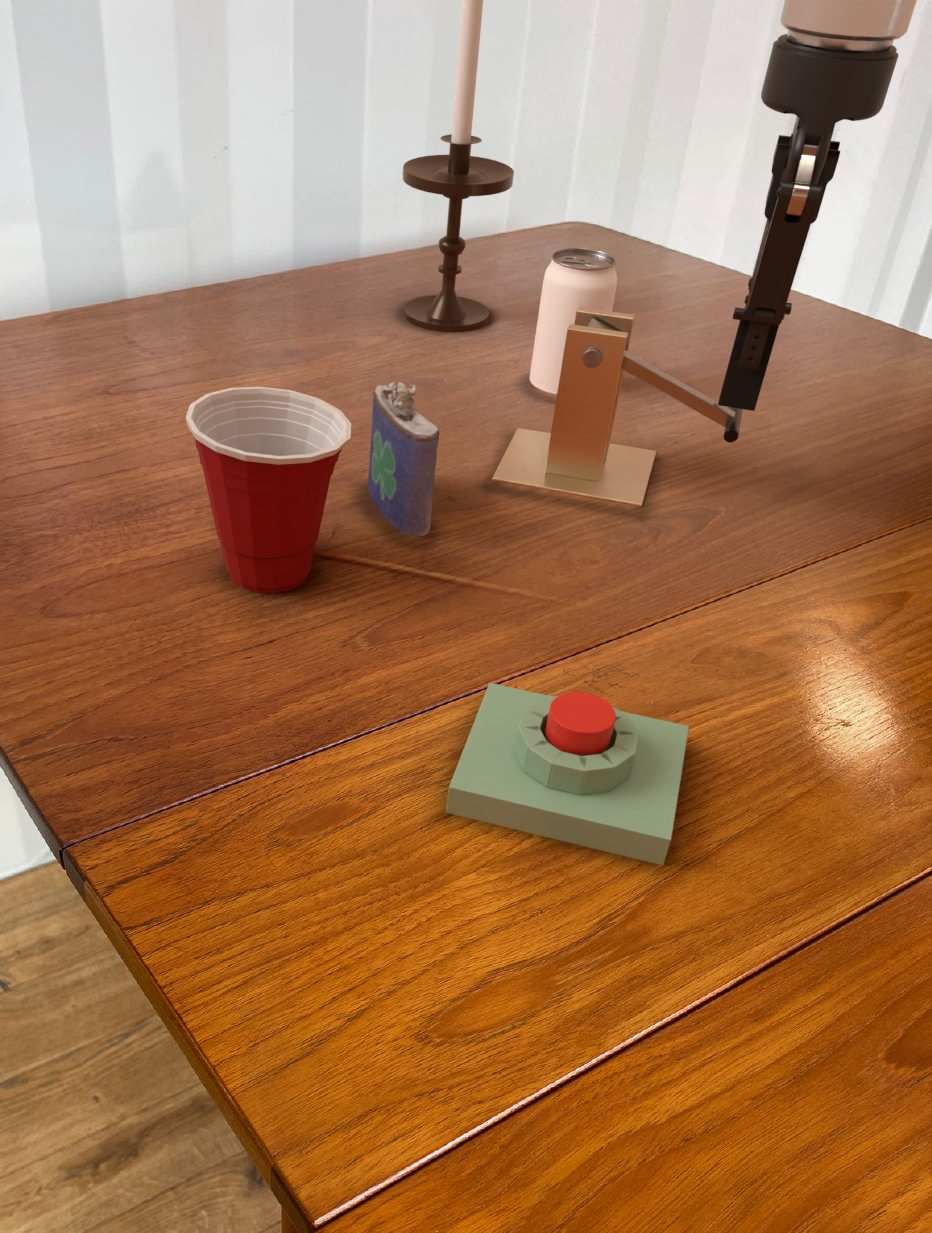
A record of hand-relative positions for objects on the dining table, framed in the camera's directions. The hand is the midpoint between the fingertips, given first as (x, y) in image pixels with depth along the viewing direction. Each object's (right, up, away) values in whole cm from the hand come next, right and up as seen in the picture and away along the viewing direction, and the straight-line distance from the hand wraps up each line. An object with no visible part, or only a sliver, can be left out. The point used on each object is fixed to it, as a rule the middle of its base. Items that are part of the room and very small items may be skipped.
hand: (736, 403), depth 85 cm
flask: (-26, -8, +2) cm, 27 cm away
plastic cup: (-35, -14, -5) cm, 38 cm away
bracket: (-11, -3, +8) cm, 14 cm away
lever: (-6, +1, +1) cm, 6 cm away
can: (-9, +8, +21) cm, 24 cm away
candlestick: (-19, +20, +34) cm, 44 cm away
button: (-17, -26, -23) cm, 39 cm away
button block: (-17, -29, -21) cm, 39 cm away
